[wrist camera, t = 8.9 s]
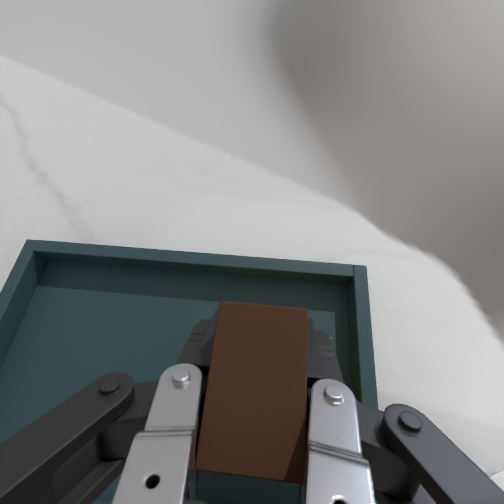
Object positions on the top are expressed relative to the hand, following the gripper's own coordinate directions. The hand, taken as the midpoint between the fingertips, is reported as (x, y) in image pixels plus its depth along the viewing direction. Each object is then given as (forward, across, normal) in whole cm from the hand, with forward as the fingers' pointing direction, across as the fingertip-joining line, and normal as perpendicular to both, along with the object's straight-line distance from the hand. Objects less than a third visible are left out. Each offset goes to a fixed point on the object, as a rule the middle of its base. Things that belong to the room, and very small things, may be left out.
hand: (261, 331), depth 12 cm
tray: (+2, +5, +5) cm, 7 cm away
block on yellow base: (+2, 0, +5) cm, 5 cm away
